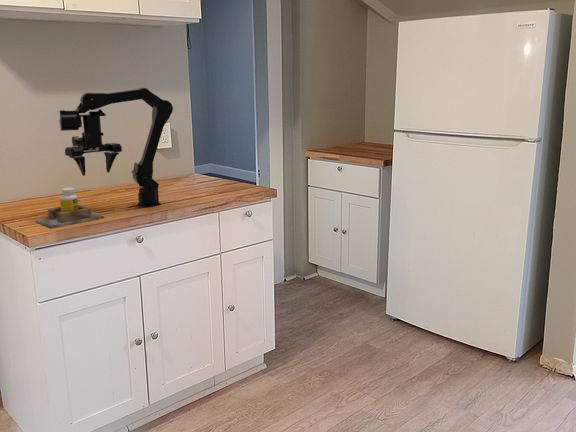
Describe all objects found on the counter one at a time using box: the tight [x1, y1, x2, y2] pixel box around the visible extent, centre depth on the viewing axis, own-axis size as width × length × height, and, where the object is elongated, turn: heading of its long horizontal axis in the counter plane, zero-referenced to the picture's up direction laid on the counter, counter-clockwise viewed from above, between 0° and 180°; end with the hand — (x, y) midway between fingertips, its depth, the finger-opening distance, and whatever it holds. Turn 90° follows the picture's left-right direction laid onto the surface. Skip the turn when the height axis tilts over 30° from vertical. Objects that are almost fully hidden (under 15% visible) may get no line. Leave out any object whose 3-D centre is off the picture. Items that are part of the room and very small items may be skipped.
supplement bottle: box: [59, 187, 79, 212], centre depth 185 cm, size 5×5×10 cm
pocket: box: [34, 204, 105, 229], centre depth 186 cm, size 18×12×4 cm, turn 136°
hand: (96, 174), depth 197 cm, fingers open, 9 cm apart
